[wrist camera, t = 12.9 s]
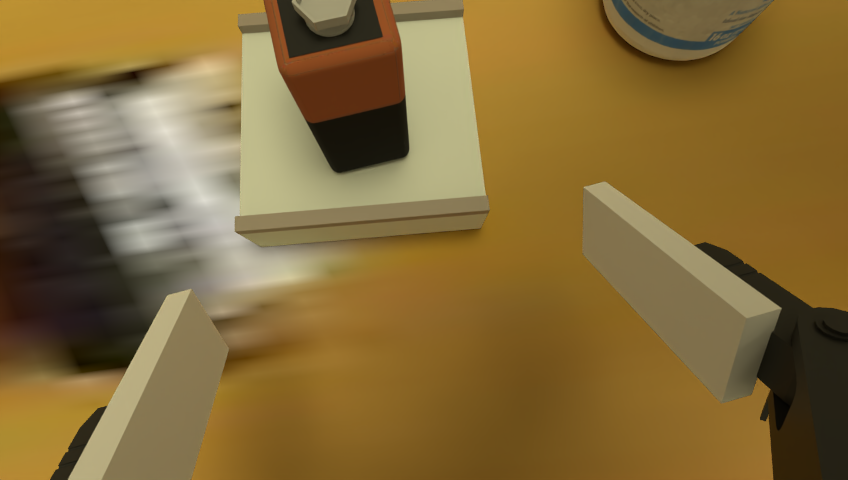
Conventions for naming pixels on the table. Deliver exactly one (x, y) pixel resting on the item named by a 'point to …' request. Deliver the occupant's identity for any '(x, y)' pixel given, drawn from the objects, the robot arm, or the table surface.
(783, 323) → the robot arm
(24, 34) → the table surface
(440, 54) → the stand
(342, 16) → the battery
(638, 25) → the supplement tub
